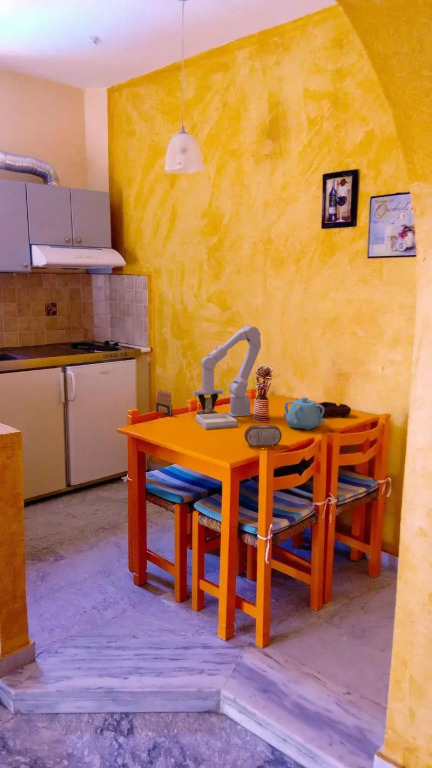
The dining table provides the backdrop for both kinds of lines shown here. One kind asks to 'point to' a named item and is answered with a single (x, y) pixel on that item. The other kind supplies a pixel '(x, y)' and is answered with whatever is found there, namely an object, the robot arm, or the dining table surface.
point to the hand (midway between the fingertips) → (207, 409)
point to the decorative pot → (304, 414)
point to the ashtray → (334, 409)
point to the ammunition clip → (164, 402)
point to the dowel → (208, 405)
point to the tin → (263, 435)
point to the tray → (216, 421)
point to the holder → (203, 412)
